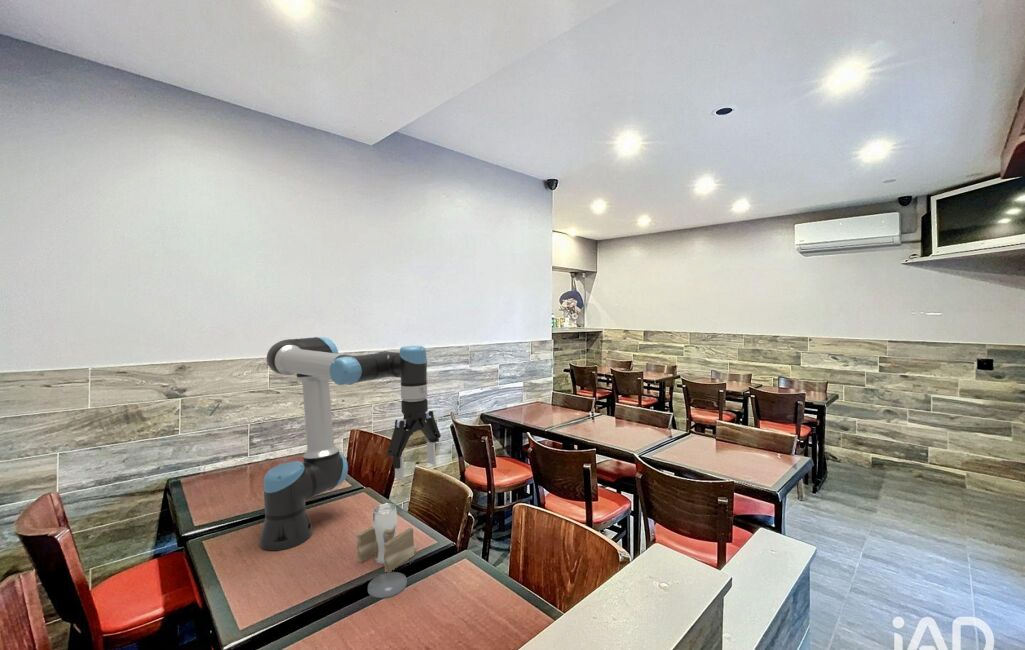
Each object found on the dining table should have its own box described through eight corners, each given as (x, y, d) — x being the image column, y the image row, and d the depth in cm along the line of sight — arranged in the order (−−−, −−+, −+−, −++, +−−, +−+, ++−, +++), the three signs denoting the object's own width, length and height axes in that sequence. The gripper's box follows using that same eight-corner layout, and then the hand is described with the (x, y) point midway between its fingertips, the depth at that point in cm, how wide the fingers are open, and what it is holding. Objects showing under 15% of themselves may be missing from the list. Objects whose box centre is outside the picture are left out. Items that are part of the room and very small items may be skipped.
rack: (358, 561, 125) (357, 534, 124) (387, 542, 134) (386, 518, 134) (388, 573, 118) (387, 545, 118) (416, 553, 128) (415, 527, 128)
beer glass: (391, 566, 122) (389, 514, 121) (369, 564, 123) (367, 513, 123) (402, 552, 129) (400, 503, 128) (381, 550, 130) (379, 502, 130)
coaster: (359, 590, 111) (359, 588, 111) (388, 570, 120) (388, 568, 120) (386, 603, 106) (386, 600, 106) (414, 580, 115) (414, 578, 115)
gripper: (392, 409, 112) (394, 488, 112) (451, 392, 133) (452, 459, 134) (372, 406, 115) (374, 483, 116) (432, 390, 137) (433, 455, 138)
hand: (416, 470), depth 125 cm, fingers open, 13 cm apart
